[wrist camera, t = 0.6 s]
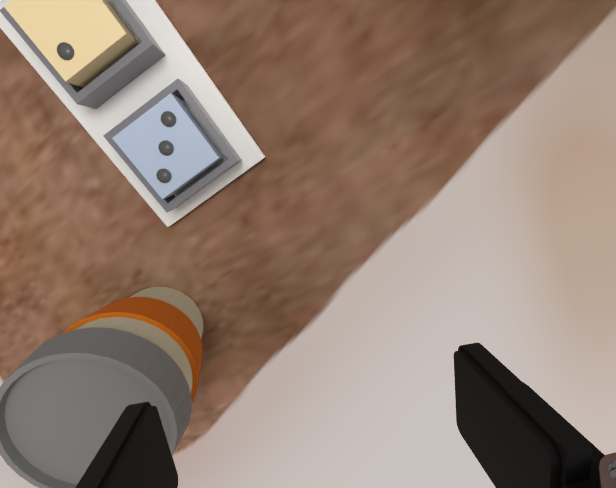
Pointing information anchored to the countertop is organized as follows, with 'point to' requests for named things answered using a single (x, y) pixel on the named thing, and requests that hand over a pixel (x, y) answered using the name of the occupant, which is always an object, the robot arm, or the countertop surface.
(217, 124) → the button panel
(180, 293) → the reusable coffee cup
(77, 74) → the button
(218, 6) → the countertop surface
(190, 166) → the button
